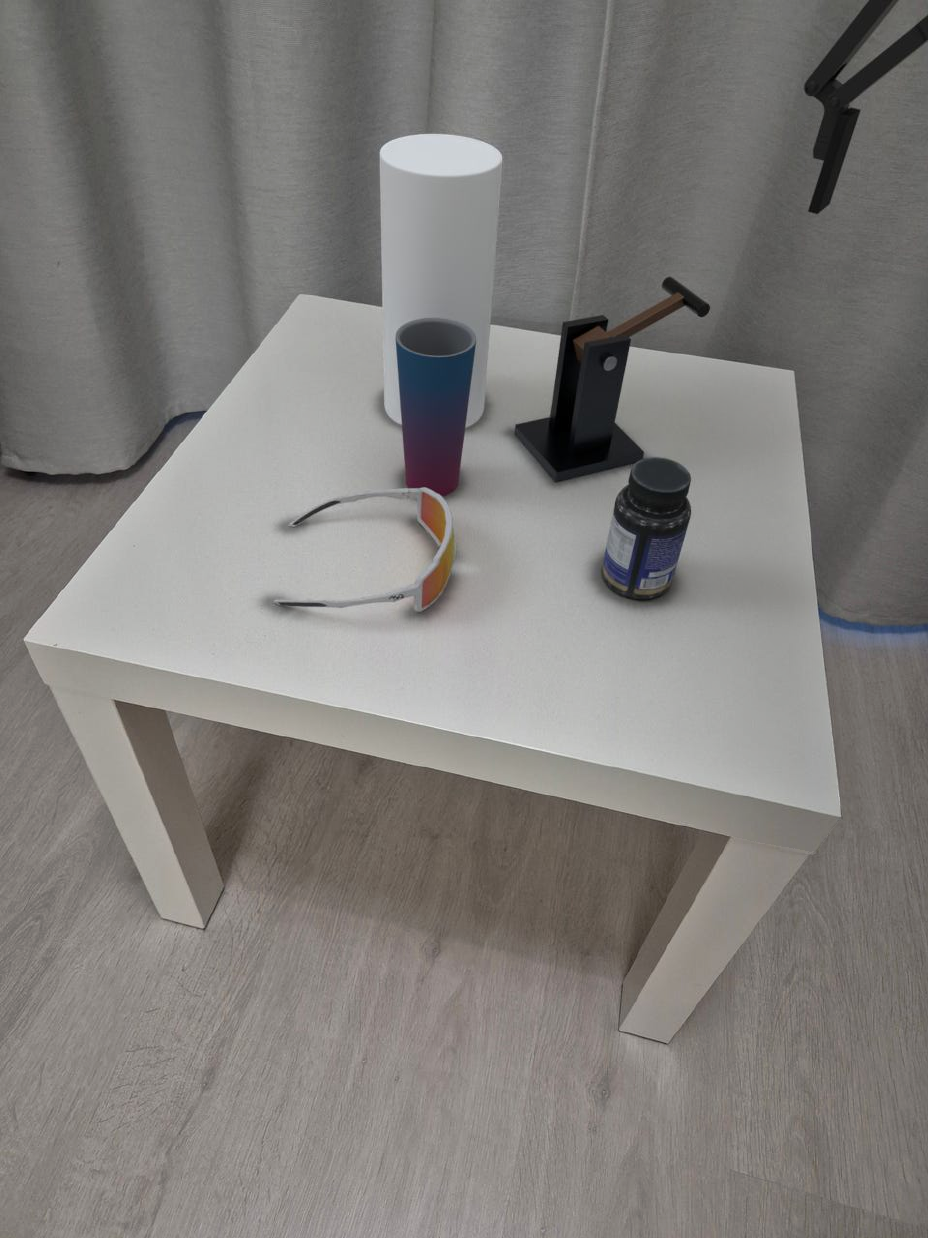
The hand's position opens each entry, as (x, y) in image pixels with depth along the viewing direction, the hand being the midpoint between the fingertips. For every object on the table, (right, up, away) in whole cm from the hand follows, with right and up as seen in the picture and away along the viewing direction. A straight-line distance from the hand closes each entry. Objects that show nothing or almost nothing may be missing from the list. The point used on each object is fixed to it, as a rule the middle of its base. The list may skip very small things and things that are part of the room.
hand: (908, 232), depth 64 cm
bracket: (-21, -11, +25) cm, 35 cm away
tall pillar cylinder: (-36, -5, +30) cm, 47 cm away
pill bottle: (-18, -25, +12) cm, 33 cm away
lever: (-16, -1, +19) cm, 25 cm away
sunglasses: (-41, -24, +12) cm, 48 cm away
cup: (-36, -15, +20) cm, 44 cm away
